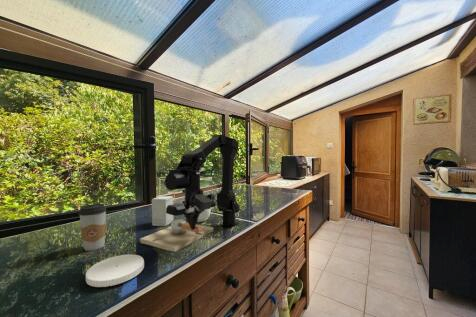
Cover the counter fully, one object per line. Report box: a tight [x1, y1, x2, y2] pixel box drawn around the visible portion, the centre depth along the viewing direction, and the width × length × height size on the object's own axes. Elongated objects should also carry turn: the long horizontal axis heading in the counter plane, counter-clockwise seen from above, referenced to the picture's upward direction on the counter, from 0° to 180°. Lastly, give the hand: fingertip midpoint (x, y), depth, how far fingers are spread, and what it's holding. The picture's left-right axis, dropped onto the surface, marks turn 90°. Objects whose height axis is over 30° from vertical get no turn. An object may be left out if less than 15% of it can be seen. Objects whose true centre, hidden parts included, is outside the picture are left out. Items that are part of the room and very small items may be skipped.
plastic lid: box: [85, 254, 145, 288], centre depth 60 cm, size 14×14×2 cm
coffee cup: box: [78, 203, 107, 252], centre depth 78 cm, size 8×8×15 cm
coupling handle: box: [170, 218, 203, 235], centre depth 84 cm, size 15×6×4 cm, turn 56°
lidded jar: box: [189, 206, 212, 223], centre depth 108 cm, size 11×11×9 cm
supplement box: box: [151, 195, 174, 227], centre depth 103 cm, size 7×7×13 cm
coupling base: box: [139, 224, 214, 253], centre depth 86 cm, size 22×18×2 cm
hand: (192, 229), depth 79 cm, fingers closed
